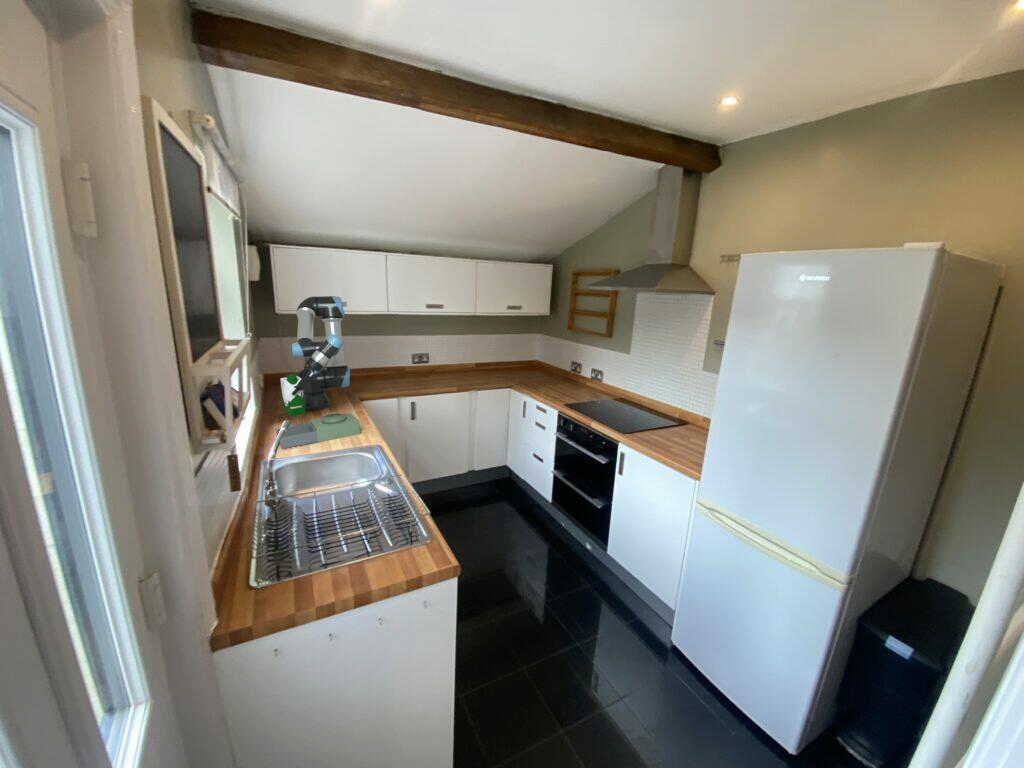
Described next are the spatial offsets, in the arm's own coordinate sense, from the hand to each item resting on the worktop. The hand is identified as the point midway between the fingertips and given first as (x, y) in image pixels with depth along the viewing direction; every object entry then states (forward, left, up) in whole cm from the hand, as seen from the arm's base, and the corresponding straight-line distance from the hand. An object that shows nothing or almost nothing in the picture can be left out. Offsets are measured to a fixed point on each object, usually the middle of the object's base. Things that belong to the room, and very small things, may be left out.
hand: (285, 397), depth 195 cm
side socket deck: (-10, +16, -18) cm, 26 cm away
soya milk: (-3, 0, -9) cm, 10 cm away
